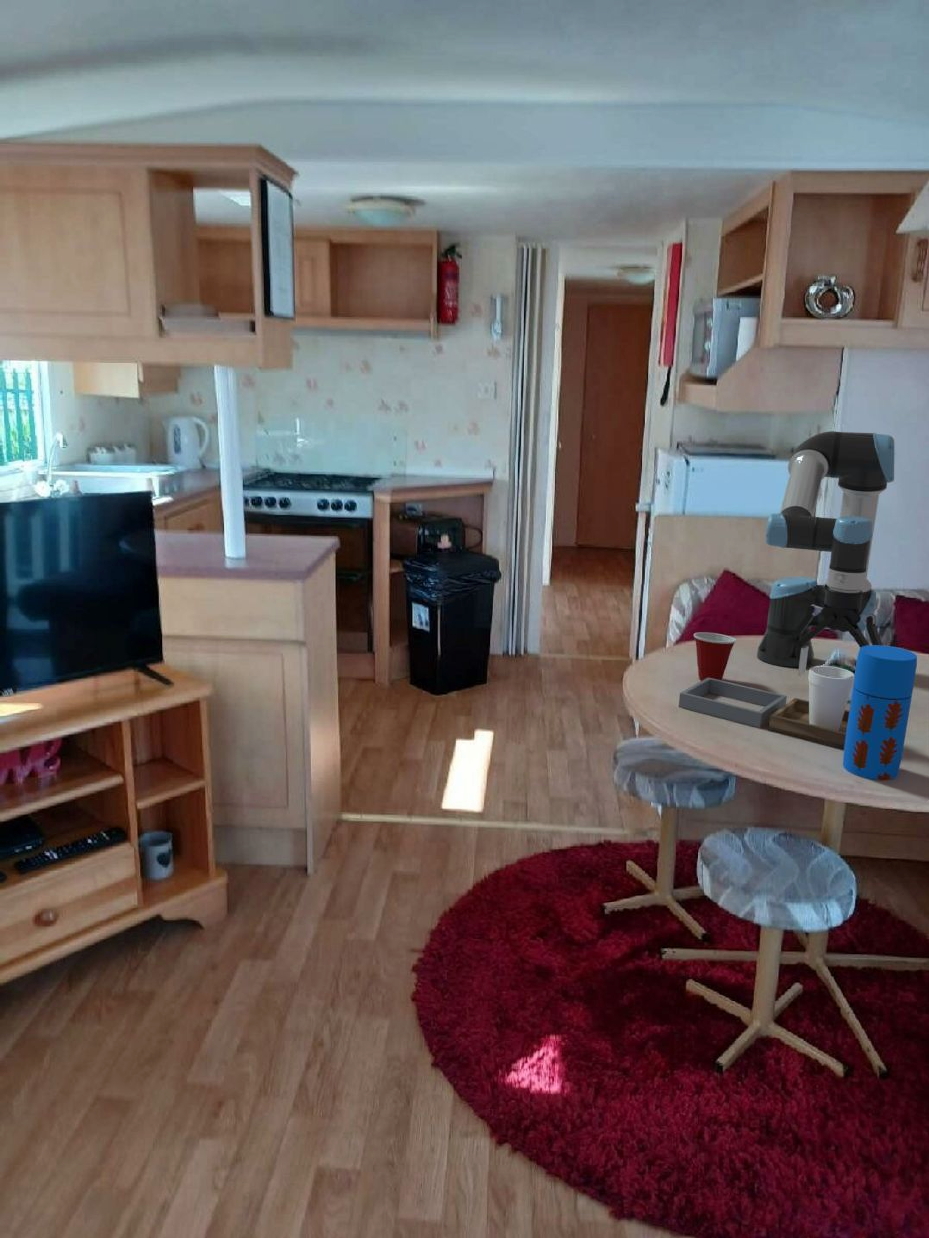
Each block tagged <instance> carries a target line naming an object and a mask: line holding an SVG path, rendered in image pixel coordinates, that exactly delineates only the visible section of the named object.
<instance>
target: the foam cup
mask: <svg viewBox="0 0 929 1238" xmlns="http://www.w3.org/2000/svg"><path fill="white" fill-rule="evenodd" d="M808 669H809V671H808V675H807V680H808V701H809V722H810V724H812V725H816V726H820V727H824V728H828V729H832V730H836V731H838V730H839V728H840V725H841V722H842V719H843V715H844V712H845V710H847V709H846V708H847V705H848V701H849V698H850V695H851V693H852V689H853V683H854V677H855V673H854V672H852V671H850V670H848V669H846V668H841V667H837V666H830V665H816V666H815V665H814V666H811V667H810V668H808Z"/></svg>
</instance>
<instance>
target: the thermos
mask: <svg viewBox="0 0 929 1238" xmlns="http://www.w3.org/2000/svg"><path fill="white" fill-rule="evenodd" d="M917 667H918V656H917V655H916V653H914V652H913V651H910V650H907V649H904V648H900V647H896V646H890V645H883V644H882V645H872V644H870V645H867V646H863V647H861V648H860V647H859V650H858V653H857V657H856V663H855V672H854V675H855V677H854V683H853V686H852V689H851V698H850V704H849V705H850V706H849V718H848V725H847V732H846V738H845V745H844V750H843V759H842V766H843V768H844V770H846V771H847V772H849V773H851V774H853V775H855V776H858V777H861V778H864V779H869V780H875V781H888V780H893V779H896V778H897V776H898V775H899V772H900V766H901V763H902V758H903V753H904V746H905V739H906V735H907V728H908V722H909V717H910V709H911V704H912V697H913V691H914V685H915V680H916V673H917V672H916V671H917Z"/></svg>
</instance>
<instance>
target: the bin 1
mask: <svg viewBox="0 0 929 1238" xmlns="http://www.w3.org/2000/svg"><path fill="white" fill-rule="evenodd" d="M707 694H714V695H717V696H722V697H724V698H725V697H726V698H730V699H734V700H736V701H737V700H738V701H741V702H742V701H743V702H746V703H750V704H755V705H758V706H762V707H763V708H762V709H760V710H755V709H752V708H747V707H743V706H740V705H735V704H731V703H728V702H723V701H719V700H715V699H711V698H707V697H704V696H706V695H707ZM678 698H679V701H678V707H679V708H682V709H686V710H688V711H693V712H697V713H700V714H701V713H702V714H705V715H709V716H713V717H716V718H721V719H724V720H728V721H732V722H735V723H739V724H744V725H747V726H751V727H754V728H759V729H761V728H762V727H763V726H764V725H766V724H767V723H769V721H770V715H772V714H773V713H775V712H776V711H777V710H779V709H780V708H782V707H783V706H784V705H786V704H787V698H788V696H787V695H785V694H780V693H776V692H771V691H768V690H763V689H759V688H755V687H749V686H745V685H742V684H737V683H733V682H730V681H729V682H728V681H725V680H722V681H721V680H717V679H713V678H706V679H704V680H703V681H701V680H700V681H698V682H697V683H696V684H693V685H692V686H690V687H688V688H686V689H685V690H683V691H681V692H679V697H678Z"/></svg>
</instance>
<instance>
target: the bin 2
mask: <svg viewBox="0 0 929 1238" xmlns="http://www.w3.org/2000/svg"><path fill="white" fill-rule="evenodd" d="M849 711H850V709H849V710H848V709H845V712H844V715H843V719H842V722H841V725H840V728H839V730H838V731H836V730H832V729H828V728H824V727H820V726H816V725H812V724H810V722H809V700H806V699H802V698H797V697H794V698H793V699H792V700H790V701H789V702H786V705H784V706H783V707H782V708H780V709H779V710H777V711H776V712H775V713H773V714H772V715H770V721H769V722H768V731H769V732H770V731H771V732H774V733H778V734H782V735H784V736H790V737H793V738H796V739H797V738H798V739H801V740H805V741H809V742H812V743H817V744H821V745H824V746H826V747H827V746H829V747H831V748H835V749H840V750H843V751H844V745H845V738H846V732H847V725H848V718H849Z"/></svg>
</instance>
